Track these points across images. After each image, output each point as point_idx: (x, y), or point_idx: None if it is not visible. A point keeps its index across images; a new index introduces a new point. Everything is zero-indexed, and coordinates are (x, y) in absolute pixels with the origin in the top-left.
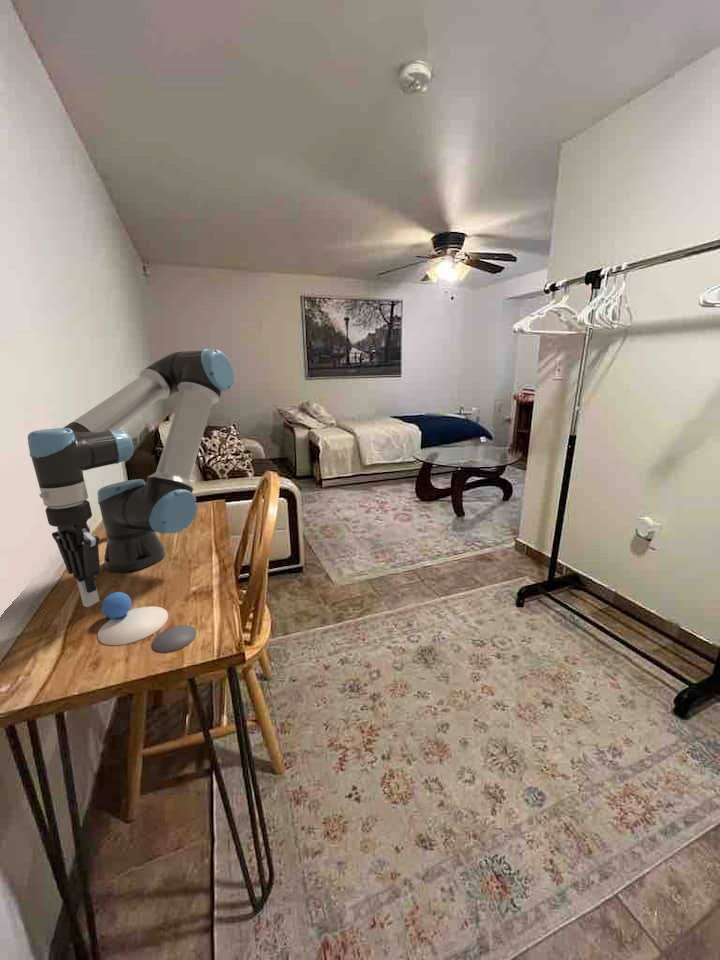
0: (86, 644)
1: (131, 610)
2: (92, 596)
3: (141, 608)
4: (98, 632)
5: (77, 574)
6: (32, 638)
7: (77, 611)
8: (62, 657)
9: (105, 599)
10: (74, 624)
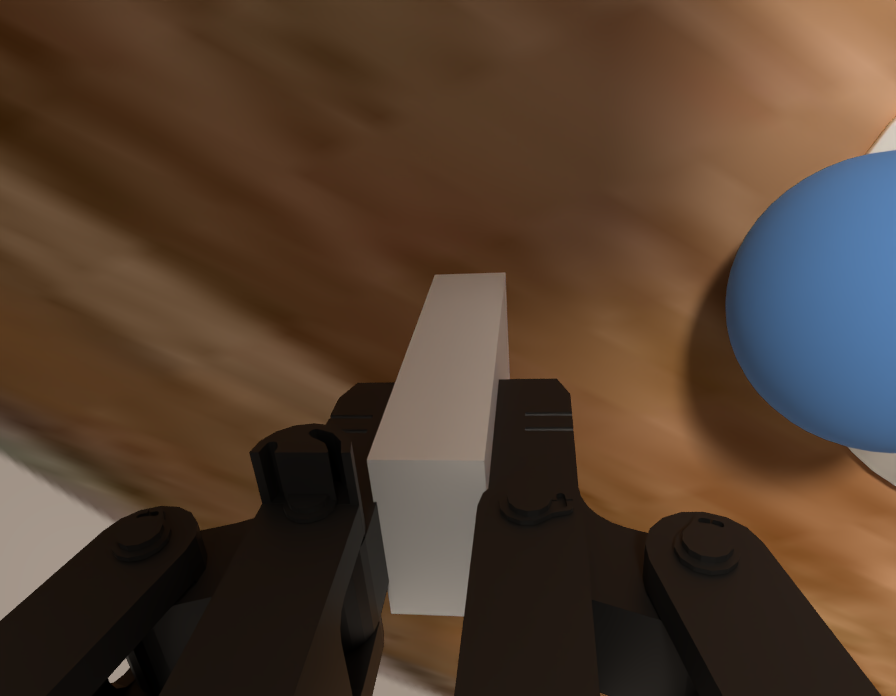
0: (890, 554)
1: (893, 143)
2: (504, 365)
3: None
4: (871, 466)
5: (372, 655)
6: (443, 618)
7: (356, 354)
8: None
9: (877, 438)
10: None
